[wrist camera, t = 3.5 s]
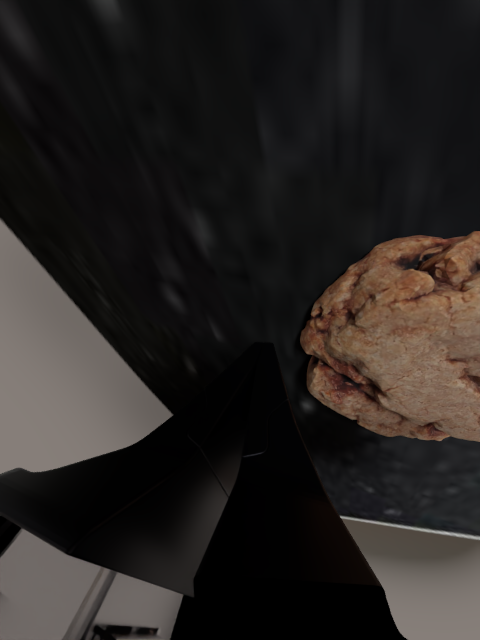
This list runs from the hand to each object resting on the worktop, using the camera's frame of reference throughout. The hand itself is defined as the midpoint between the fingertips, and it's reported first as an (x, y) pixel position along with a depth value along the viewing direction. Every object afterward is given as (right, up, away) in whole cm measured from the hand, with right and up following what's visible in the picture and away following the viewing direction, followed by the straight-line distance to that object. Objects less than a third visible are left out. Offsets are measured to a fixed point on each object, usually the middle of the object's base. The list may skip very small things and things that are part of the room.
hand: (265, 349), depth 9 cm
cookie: (+7, +1, -1) cm, 7 cm away
